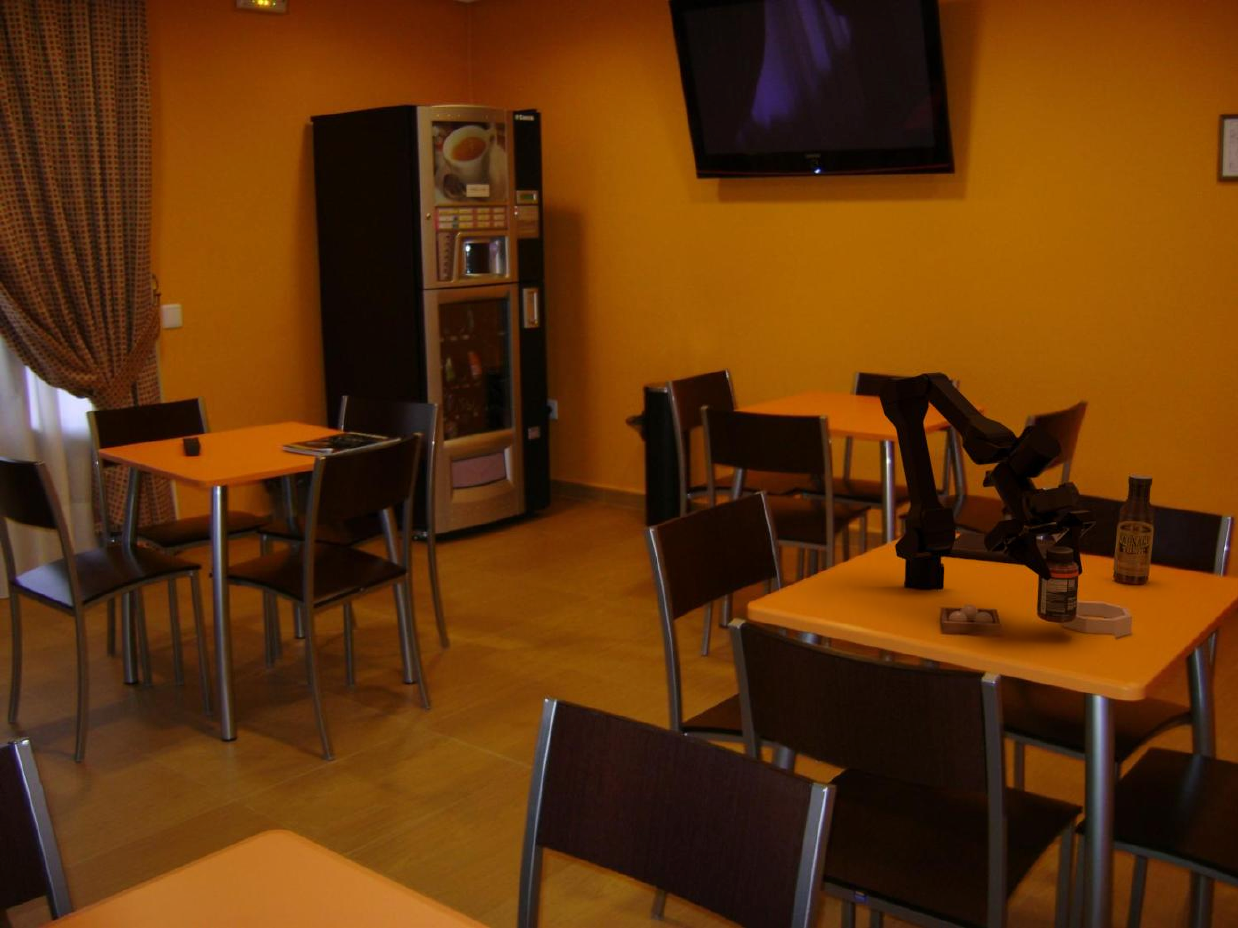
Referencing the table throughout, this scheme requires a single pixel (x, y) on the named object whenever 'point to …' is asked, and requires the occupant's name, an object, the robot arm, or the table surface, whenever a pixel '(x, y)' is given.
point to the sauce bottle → (1135, 533)
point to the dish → (1101, 619)
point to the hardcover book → (975, 549)
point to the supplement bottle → (1058, 587)
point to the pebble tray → (970, 624)
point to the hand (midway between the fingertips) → (1064, 576)
